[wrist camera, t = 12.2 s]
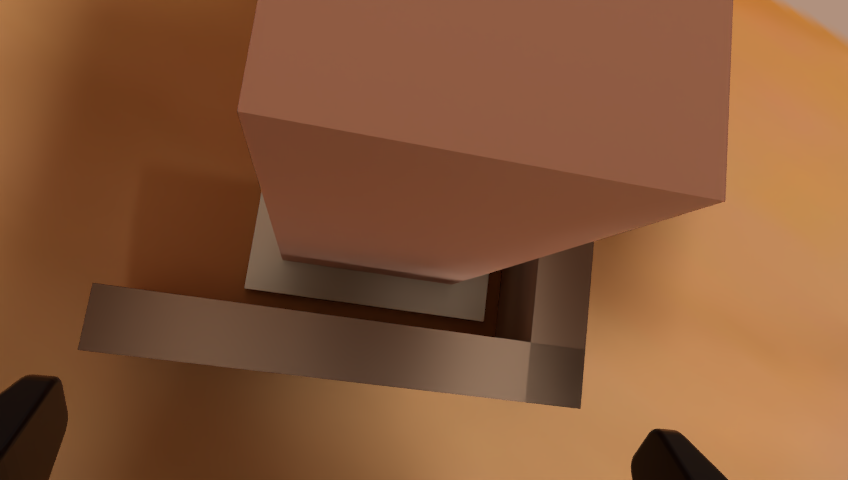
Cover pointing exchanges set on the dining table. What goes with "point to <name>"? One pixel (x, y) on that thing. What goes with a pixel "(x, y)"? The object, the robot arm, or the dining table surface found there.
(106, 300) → the corner bracket
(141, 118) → the dining table surface
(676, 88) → the terracotta block
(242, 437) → the dining table surface
